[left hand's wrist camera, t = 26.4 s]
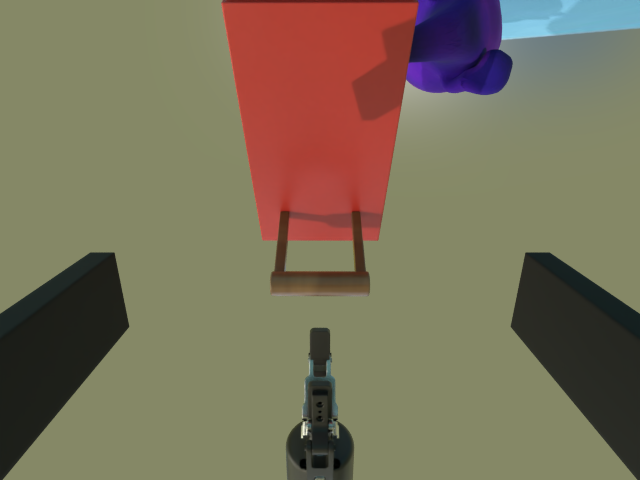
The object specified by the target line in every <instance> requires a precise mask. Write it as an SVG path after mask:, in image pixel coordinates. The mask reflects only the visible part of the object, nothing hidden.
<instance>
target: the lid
mask: <svg viewBox="0 0 640 480" xmlns="http://www.w3.org/2000/svg"><path fill="white" fill-rule="evenodd" d="M221 4H222V10H223V16H224V22H225V27H226V33H227V39H228V45H229V50H230V56H231V62H232V68H233V73H234V79H235V85H236V91H237V96H238V102H239V108H240V114H241V119H242V125H243V131H244V136H245V142H246V148H247V154H248V160H249V165H250V171H251V177H252V183H253V188H254V194H255V200H256V206H257V211H258V217H259V223H260V229H261V234H262V240H277V250H276V260H275V270H274V271H273V272H272V273H271V277H270V292H271V295H272V296H369V293H370V276H369V273H368V272H366V268H365V257H364V246H363V240H378V239H379V233H380V227H381V221H382V215H383V210H384V204H385V198H386V192H387V186H388V180H389V175H390V169H391V163H392V157H393V151H394V146H395V140H396V134H397V128H398V122H399V116H400V111H401V105H402V99H403V93H404V87H405V82H406V76H407V70H408V64H409V58H410V52H411V47H412V41H413V35H414V29H415V23H416V17H417V12H418V6H419V2H418V0H223V1H222V3H221ZM288 240H353V252H354V267H355V272H339V271H337V272H335V271H334V272H333V271H321V272H320V271H286V258H287V244H288Z"/></svg>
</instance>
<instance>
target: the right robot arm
mask: <svg viewBox="0 0 640 480" xmlns="http://www.w3.org/2000/svg"><path fill="white" fill-rule="evenodd" d="M308 362H309V376H307V377H306V379H305V402H304V404H303V406H302V420H304V421H302V422H300V423H299V424H298V425H296V426H295V427H294V428H293V429H292V431H291V432H290V434H289V436H288V438H287V442H286V461H287V480H353V460H354V442H353V439H352V436H351V434H350V432H349V431H348V430H347V428H346V427H345V426H344V425H342V424H341V423H339V422H338V421H336V420H338V406H337V404H336V403H335V379H334V377H333V376H331V362H332V358H331V353H330V330H329V329H328V328H312V329H311V330H310V353H309V358H308Z"/></svg>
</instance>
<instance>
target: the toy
mask: <svg viewBox="0 0 640 480" xmlns="http://www.w3.org/2000/svg"><path fill="white" fill-rule="evenodd" d="M418 2H419V6H418V12H417V17H416V23H415V29H414V35H413V41H412V47H411V52H410V58H409V64H408V70H407V76H406V80H407V81H408V82H409V83H410V84H412V85H413V86H415V87H416V88H418V89H421V90H423V91H426V92H432V93H442V92H449V93H459V92H463V91H467V92H471V93H475V94H480V95H489V94H494V93H497V92H499V91H500V90H501V89H502V88H503V87H504V86H505V85H506V83H507V81H508V79H509V76H510V73H511V69H512V64H513V63H512V59H511V57H510V56H508V55H507V54H506V53H504V52H503V51H501V50H498V49H499V46H500V43H501V38H502V16H501V9H500V2H499V0H418Z"/></svg>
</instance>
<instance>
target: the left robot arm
mask: <svg viewBox="0 0 640 480" xmlns="http://www.w3.org/2000/svg"><path fill="white" fill-rule="evenodd" d="M128 328H129V323H128V318H127V313H126V308H125V303H124V298H123V293H122V288H121V283H120V278H119V273H118V268H117V263H116V258H115V253H89V254H88V255H86V256H85V257H83V258H82V259H80V260H79V261H77V262H76V263H74V264H73V265H71V266H70V267H68V268H67V269H65V270H64V271H63V272H61V273H60V274H58V275H57V276H55V277H54V278H52V279H51V280H49V281H48V282H46V283H45V284H43V285H42V286H40V287H39V288H38V289H36V290H35V291H33V292H32V293H30V294H29V295H27V296H26V297H24V298H23V299H21V300H20V301H18V302H17V303H15V304H14V305H13V306H11V307H10V308H8V309H7V310H5V311H4V312H2V313H1V314H0V480H3V478H4V477H5V476H6V475H7V474H8V472H9V471H10V470H11V469H12V468H13V466H14V465H15V464H16V463H17V462H18V460H19V459H20V458H21V457H22V456H23V454H24V453H25V452H26V451H27V450H28V448H29V447H30V446H31V445H32V444H33V442H34V441H35V440H36V439H37V437H38V436H39V435H40V434H41V433H42V431H43V430H44V429H45V428H46V427H47V425H48V424H49V423H50V422H51V421H52V419H53V418H54V417H55V416H56V415H57V413H58V412H59V411H60V410H61V409H62V407H63V406H64V405H65V404H66V402H67V401H68V400H69V399H70V398H71V396H72V395H73V394H74V393H75V392H76V390H77V389H78V388H79V387H80V386H81V384H82V383H83V382H84V381H85V380H86V378H87V377H88V376H89V375H90V374H91V372H92V371H93V370H94V369H95V367H96V366H97V365H98V364H99V363H100V361H101V360H102V359H103V358H104V357H105V355H106V354H107V353H108V352H109V351H110V349H111V348H112V347H113V346H114V345H115V343H116V342H117V341H118V340H119V339H120V337H121V336H122V335H123V334H124V332H125V331H126V330H127V329H128ZM511 328H512V329H513V330H514V331H515V333H516V334H517V335H518V336H519V337H520V339H521V340H522V341H523V342H524V343H525V345H526V346H527V347H528V348H529V349H530V351H531V352H532V353H533V354H534V355H535V357H536V358H537V359H538V360H539V361H540V363H541V364H542V365H543V366H544V368H545V369H546V370H547V371H548V372H549V374H550V375H551V376H552V377H553V378H554V380H555V381H556V382H557V383H558V384H559V386H560V387H561V388H562V389H563V390H564V392H565V393H566V394H567V395H568V396H569V398H570V399H571V400H572V401H573V402H574V404H575V405H576V406H577V407H578V409H579V410H580V411H581V412H582V413H583V415H584V416H585V417H586V418H587V419H588V421H589V422H590V423H591V424H592V425H593V427H594V428H595V429H596V430H597V431H598V433H599V434H600V435H601V436H602V437H603V439H604V440H605V441H606V442H607V444H608V445H609V446H610V447H611V448H612V450H613V451H614V452H615V453H616V454H617V456H618V457H619V458H620V459H621V460H622V462H623V463H624V464H625V465H626V466H627V468H628V469H629V470H630V471H631V473H632V474H633V475H634V476H635V477H636V479H637V480H640V314H639V313H638V312H636V311H635V310H633V309H632V308H630V307H629V306H628V305H626V304H625V303H623V302H622V301H620V300H619V299H617V298H616V297H614V296H613V295H611V294H610V293H608V292H607V291H605V290H604V289H602V288H601V287H600V286H598V285H597V284H595V283H594V282H592V281H591V280H589V279H588V278H586V277H585V276H583V275H582V274H580V273H579V272H577V271H576V270H575V269H573V268H572V267H570V266H569V265H567V264H566V263H564V262H563V261H561V260H560V259H558V258H557V257H555V256H554V255H552V254H551V253H525V258H524V263H523V268H522V273H521V278H520V283H519V288H518V293H517V298H516V303H515V308H514V313H513V318H512V323H511Z"/></svg>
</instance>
